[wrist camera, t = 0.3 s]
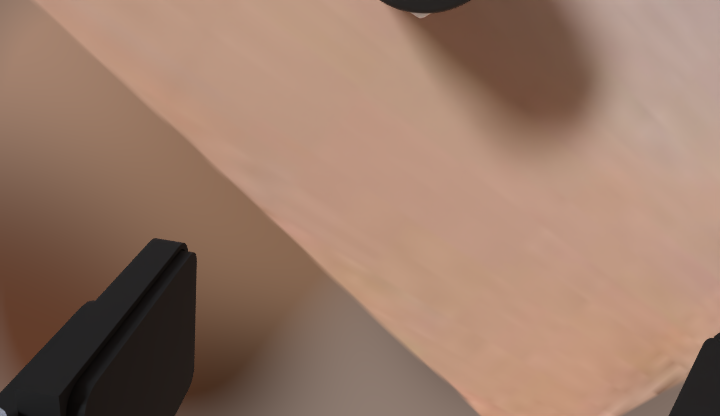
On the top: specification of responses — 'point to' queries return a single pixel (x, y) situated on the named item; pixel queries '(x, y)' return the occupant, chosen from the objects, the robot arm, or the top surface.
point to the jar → (424, 6)
